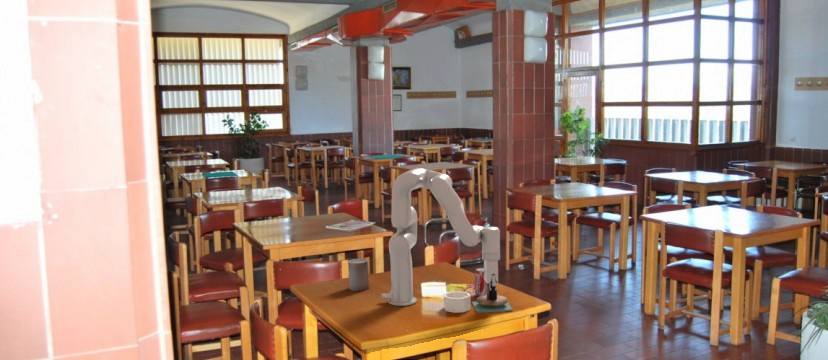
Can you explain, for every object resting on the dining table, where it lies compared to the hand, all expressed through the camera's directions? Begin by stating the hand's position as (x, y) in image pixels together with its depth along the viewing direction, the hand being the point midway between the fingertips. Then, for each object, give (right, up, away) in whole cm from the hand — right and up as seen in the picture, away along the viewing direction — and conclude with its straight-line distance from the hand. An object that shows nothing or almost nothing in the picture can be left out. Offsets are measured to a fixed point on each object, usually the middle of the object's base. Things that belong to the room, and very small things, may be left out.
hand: (491, 297), depth 296 cm
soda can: (-2, -3, +19) cm, 20 cm away
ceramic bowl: (-15, -5, 0) cm, 16 cm away
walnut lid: (0, -2, 0) cm, 2 cm away
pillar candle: (-60, -2, +36) cm, 70 cm away
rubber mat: (0, -4, +1) cm, 4 cm away
